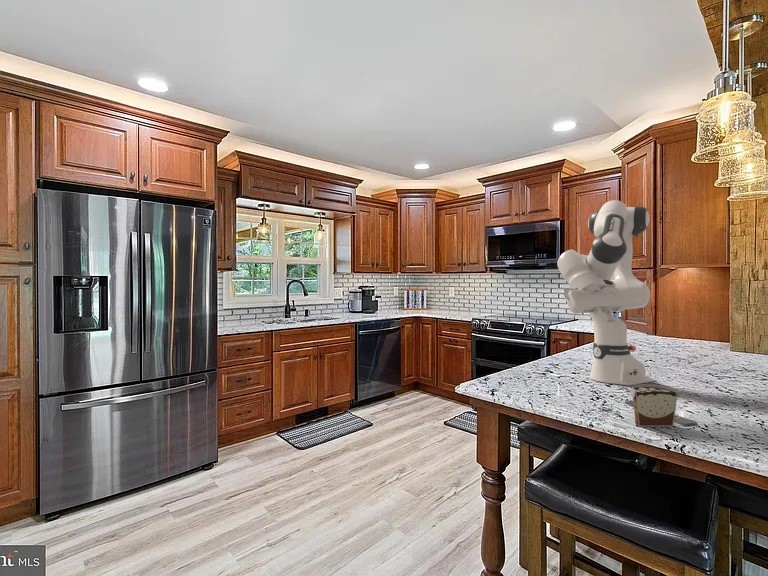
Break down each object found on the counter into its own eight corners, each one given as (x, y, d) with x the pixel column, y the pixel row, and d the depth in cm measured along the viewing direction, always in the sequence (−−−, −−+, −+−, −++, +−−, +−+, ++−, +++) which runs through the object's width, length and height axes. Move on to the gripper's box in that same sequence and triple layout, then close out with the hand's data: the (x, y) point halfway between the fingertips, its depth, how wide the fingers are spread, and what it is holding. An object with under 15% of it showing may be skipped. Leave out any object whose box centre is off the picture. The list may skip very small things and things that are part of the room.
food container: (663, 418, 115) (663, 383, 115) (678, 426, 109) (679, 389, 109) (620, 418, 115) (620, 383, 115) (633, 426, 109) (633, 389, 109)
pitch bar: (636, 402, 130) (636, 391, 130) (697, 424, 110) (697, 411, 110) (624, 403, 129) (625, 392, 129) (684, 425, 109) (684, 412, 109)
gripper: (565, 282, 130) (586, 315, 121) (617, 281, 135) (642, 313, 126) (556, 295, 135) (576, 328, 125) (607, 293, 139) (630, 325, 130)
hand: (609, 320), depth 126 cm, fingers closed
